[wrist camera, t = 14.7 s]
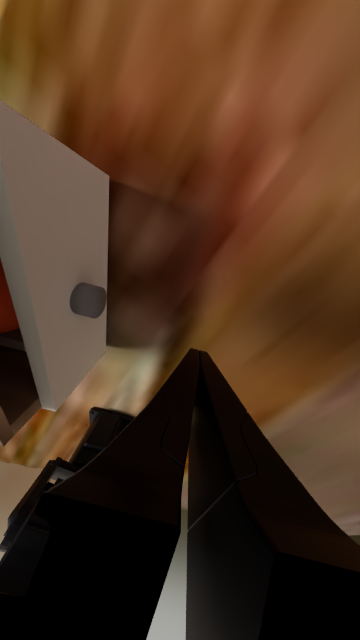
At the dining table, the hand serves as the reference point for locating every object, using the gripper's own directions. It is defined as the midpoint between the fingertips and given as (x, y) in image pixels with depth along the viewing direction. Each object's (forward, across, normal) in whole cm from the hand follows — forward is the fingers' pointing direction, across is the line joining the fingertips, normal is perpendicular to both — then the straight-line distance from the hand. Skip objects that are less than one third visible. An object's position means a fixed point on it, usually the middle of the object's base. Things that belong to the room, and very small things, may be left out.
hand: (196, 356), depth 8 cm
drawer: (+7, +14, 0) cm, 15 cm away
